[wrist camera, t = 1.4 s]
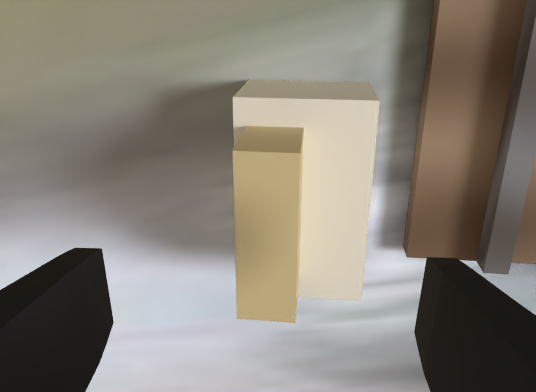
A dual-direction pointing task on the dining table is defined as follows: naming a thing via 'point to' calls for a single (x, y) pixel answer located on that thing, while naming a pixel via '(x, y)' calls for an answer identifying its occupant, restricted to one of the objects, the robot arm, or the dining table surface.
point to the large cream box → (301, 192)
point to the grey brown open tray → (477, 137)
